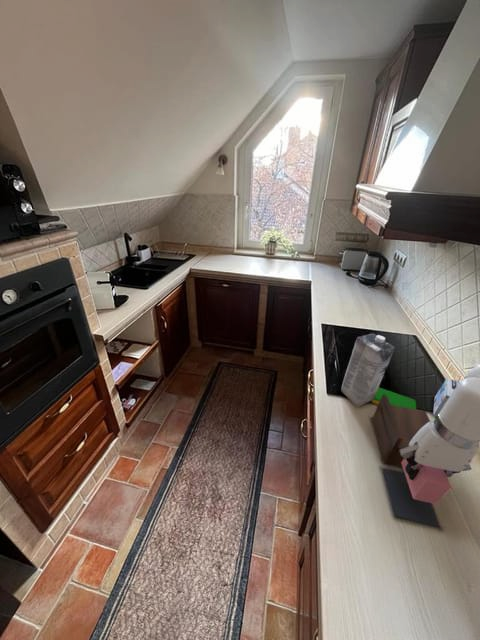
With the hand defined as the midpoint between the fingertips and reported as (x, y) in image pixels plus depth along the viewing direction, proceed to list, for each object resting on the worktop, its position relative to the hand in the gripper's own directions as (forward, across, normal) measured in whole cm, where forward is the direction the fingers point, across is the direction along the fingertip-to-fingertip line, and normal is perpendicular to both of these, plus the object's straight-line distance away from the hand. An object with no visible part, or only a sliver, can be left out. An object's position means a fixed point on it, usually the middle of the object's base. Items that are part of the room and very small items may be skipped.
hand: (421, 476), depth 62 cm
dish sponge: (+10, -5, -33) cm, 35 cm away
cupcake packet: (+3, 0, 0) cm, 3 cm away
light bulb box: (+10, -23, -34) cm, 42 cm away
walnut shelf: (+10, -3, -16) cm, 19 cm away
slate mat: (+10, 0, 0) cm, 10 cm away
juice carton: (+10, +8, -34) cm, 36 cm away
